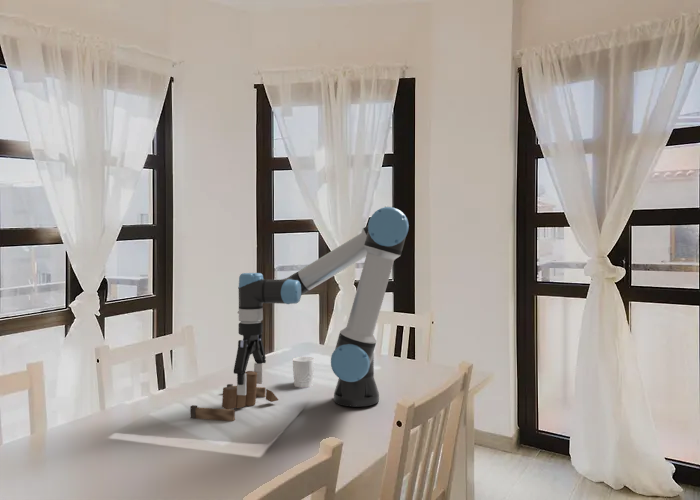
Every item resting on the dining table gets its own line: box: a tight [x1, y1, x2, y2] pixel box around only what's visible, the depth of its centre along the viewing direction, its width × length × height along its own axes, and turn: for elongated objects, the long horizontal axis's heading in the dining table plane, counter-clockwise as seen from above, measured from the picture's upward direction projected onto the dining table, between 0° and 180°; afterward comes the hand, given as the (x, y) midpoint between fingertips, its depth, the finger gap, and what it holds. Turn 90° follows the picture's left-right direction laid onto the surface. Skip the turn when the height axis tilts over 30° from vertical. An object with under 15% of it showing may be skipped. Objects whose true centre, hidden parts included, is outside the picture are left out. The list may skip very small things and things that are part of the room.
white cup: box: [292, 356, 315, 389], centre depth 189 cm, size 8×8×10 cm
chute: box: [189, 383, 266, 422], centre depth 165 cm, size 14×26×4 cm, turn 168°
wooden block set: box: [221, 370, 279, 410], centre depth 163 cm, size 18×9×10 cm, turn 135°
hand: (250, 389), depth 163 cm, fingers open, 13 cm apart
